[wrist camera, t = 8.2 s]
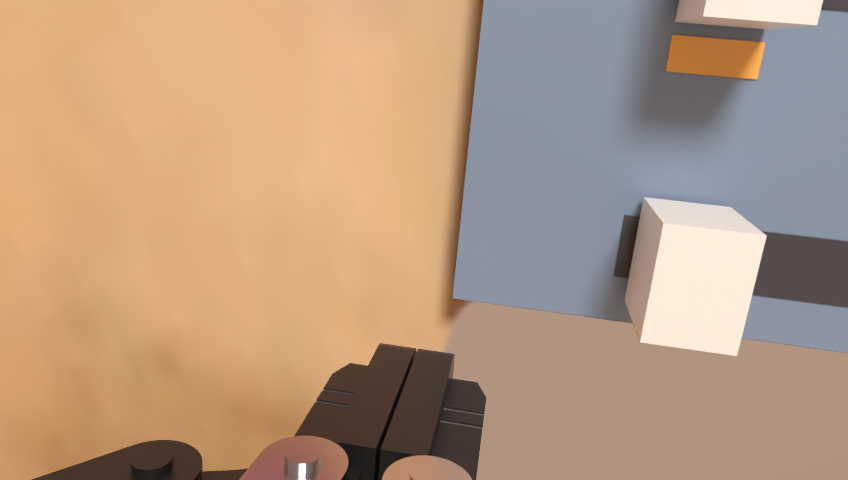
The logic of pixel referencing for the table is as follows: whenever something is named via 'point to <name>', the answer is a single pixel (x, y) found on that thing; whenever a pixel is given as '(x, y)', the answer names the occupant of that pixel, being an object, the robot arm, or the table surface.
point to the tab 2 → (692, 275)
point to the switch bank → (655, 156)
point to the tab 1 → (750, 13)
